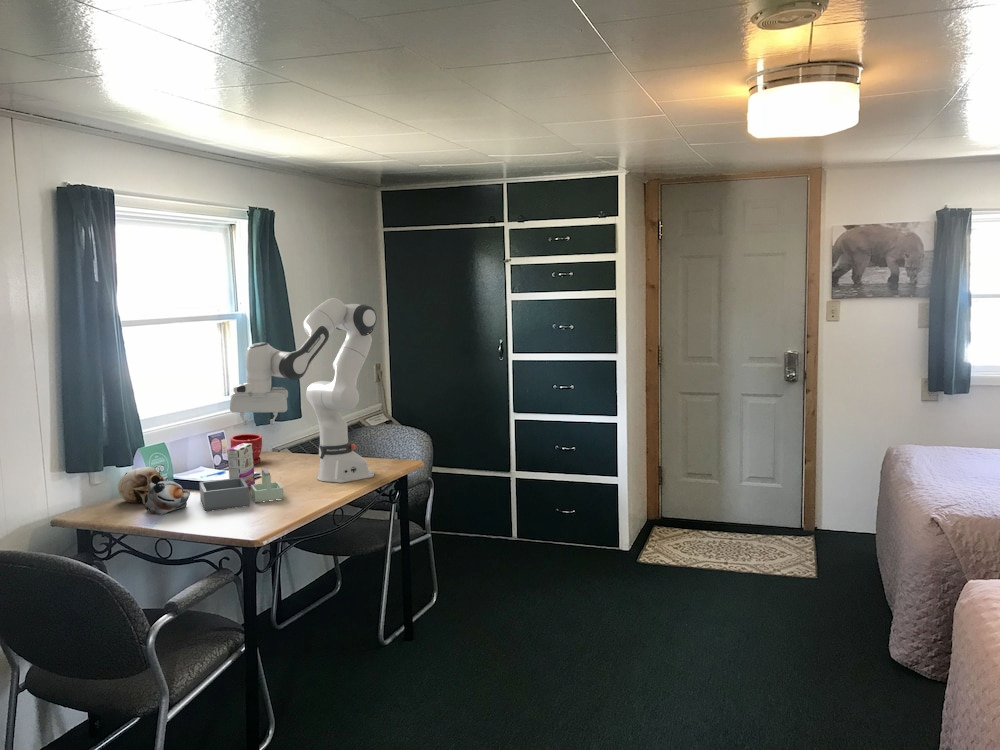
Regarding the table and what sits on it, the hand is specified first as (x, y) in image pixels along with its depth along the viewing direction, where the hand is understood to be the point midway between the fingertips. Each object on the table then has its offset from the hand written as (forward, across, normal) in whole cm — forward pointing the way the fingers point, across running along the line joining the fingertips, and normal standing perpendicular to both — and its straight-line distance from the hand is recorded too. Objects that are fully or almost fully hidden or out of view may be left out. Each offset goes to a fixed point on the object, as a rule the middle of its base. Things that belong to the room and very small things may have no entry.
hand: (259, 424), depth 303 cm
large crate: (+28, +12, +6) cm, 31 cm away
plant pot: (+26, +10, -57) cm, 64 cm away
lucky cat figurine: (+29, +30, +10) cm, 43 cm away
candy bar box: (+27, +8, -16) cm, 32 cm away
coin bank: (+29, +40, -6) cm, 49 cm away
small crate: (+27, -3, +2) cm, 27 cm away
